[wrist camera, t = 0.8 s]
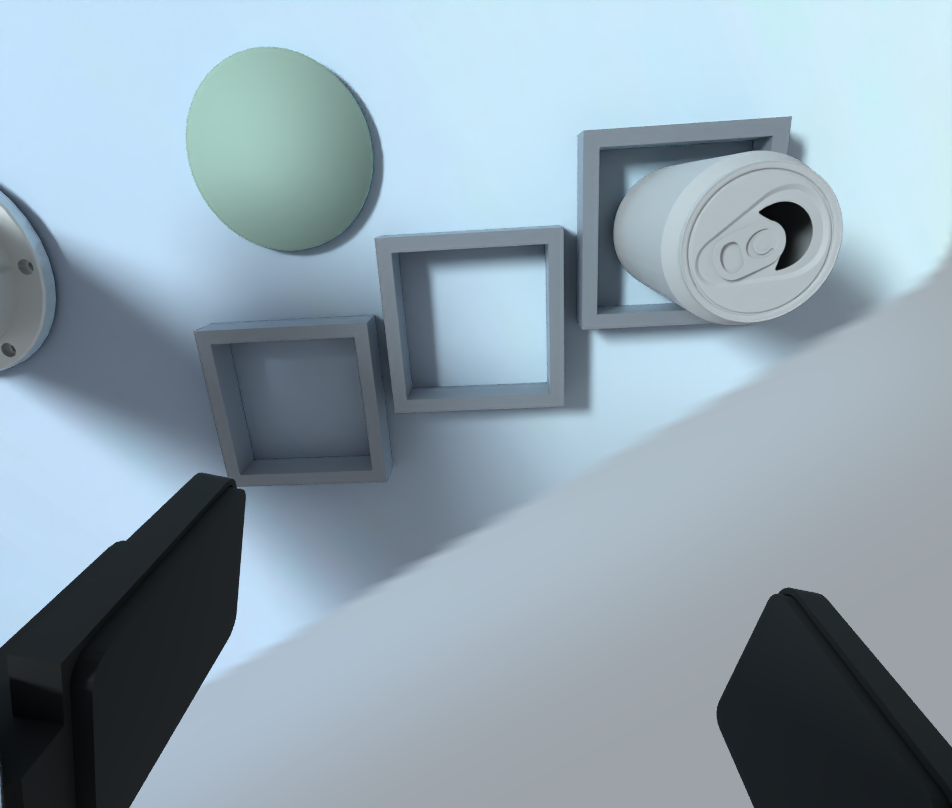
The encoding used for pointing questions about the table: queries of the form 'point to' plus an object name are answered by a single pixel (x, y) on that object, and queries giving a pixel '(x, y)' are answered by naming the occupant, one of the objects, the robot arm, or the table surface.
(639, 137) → the tray
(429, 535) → the table surface
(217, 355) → the tray
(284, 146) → the coaster
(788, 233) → the beverage can
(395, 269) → the tray
